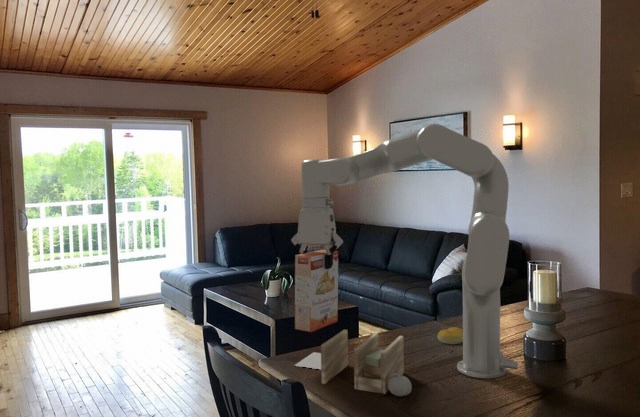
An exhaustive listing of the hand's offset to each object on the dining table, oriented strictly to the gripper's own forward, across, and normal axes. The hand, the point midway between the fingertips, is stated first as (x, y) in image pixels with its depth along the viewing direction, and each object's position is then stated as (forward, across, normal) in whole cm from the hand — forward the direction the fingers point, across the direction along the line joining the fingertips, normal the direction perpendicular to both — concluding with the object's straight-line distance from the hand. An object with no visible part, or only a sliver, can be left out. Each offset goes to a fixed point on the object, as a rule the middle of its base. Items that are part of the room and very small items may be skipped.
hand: (317, 267), depth 157 cm
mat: (+27, 0, 0) cm, 27 cm away
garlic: (+27, -28, +13) cm, 41 cm away
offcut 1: (+22, -21, +7) cm, 31 cm away
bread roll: (+28, -30, -33) cm, 53 cm away
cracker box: (+17, 0, 0) cm, 17 cm away
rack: (+27, -16, +7) cm, 32 cm away
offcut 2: (+25, -20, +7) cm, 33 cm away
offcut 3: (+28, -20, +7) cm, 35 cm away
